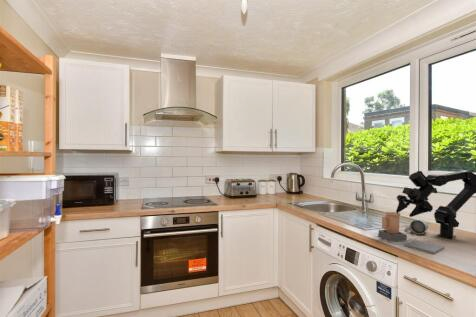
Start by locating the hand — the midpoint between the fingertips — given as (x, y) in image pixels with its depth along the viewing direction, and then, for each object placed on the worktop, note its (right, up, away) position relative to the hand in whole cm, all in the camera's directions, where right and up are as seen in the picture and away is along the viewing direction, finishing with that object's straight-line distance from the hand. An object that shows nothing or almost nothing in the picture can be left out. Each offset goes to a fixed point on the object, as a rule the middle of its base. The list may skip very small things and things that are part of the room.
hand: (403, 214), depth 137 cm
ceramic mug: (+14, -13, +11) cm, 22 cm away
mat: (+1, -13, -14) cm, 19 cm away
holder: (-6, -12, -1) cm, 14 cm away
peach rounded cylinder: (-6, -12, -1) cm, 14 cm away
